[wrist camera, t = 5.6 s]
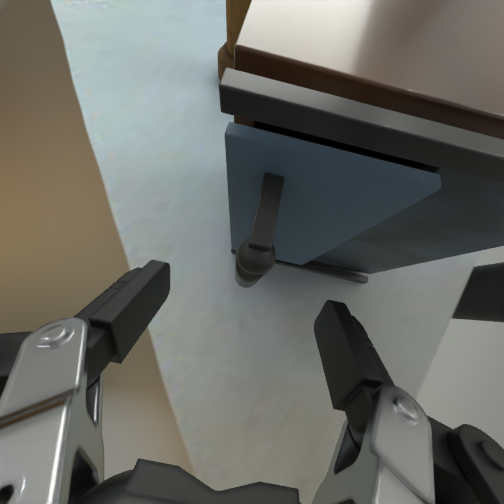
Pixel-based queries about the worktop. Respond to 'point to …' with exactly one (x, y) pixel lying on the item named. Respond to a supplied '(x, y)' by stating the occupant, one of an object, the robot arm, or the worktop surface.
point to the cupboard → (386, 110)
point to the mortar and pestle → (232, 32)
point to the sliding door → (306, 197)
